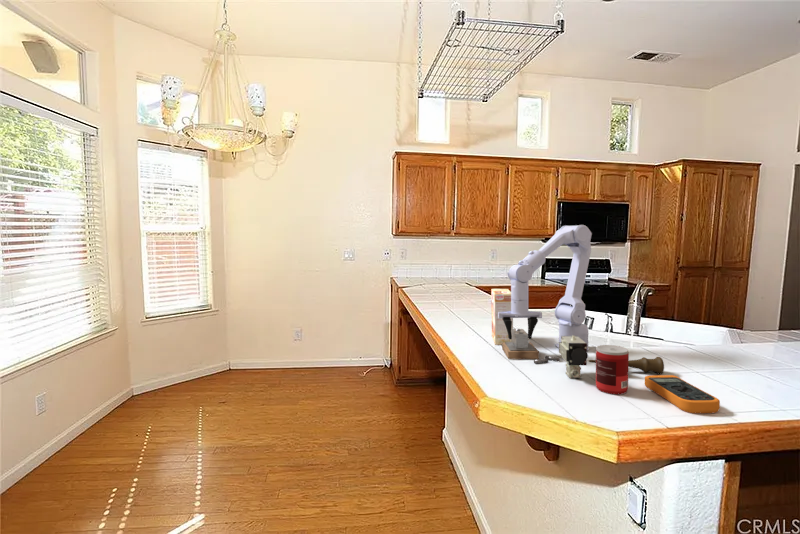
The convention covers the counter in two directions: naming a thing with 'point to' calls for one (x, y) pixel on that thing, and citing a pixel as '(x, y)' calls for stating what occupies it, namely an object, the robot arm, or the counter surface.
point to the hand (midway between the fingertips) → (519, 338)
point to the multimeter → (682, 394)
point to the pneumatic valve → (573, 354)
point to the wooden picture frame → (520, 351)
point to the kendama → (646, 364)
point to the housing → (519, 338)
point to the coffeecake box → (498, 304)
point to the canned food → (612, 369)
